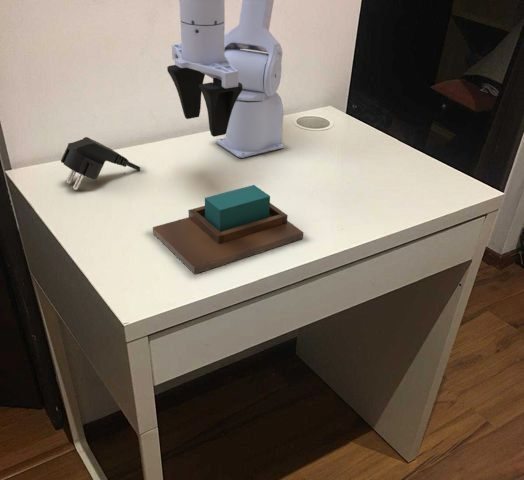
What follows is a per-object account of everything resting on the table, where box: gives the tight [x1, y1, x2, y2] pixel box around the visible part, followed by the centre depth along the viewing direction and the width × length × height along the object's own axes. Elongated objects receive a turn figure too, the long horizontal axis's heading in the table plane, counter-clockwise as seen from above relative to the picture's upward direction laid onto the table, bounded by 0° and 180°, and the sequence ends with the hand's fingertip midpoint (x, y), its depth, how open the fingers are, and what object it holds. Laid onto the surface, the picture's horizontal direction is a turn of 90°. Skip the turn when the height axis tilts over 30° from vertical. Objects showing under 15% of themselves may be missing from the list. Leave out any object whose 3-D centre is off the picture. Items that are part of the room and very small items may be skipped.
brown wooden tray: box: [152, 202, 304, 275], centre depth 79 cm, size 17×12×2 cm
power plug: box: [60, 136, 141, 191], centre depth 90 cm, size 6×8×12 cm
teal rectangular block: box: [204, 184, 271, 232], centre depth 80 cm, size 8×4×4 cm, turn 124°
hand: (205, 125), depth 84 cm, fingers open, 7 cm apart
